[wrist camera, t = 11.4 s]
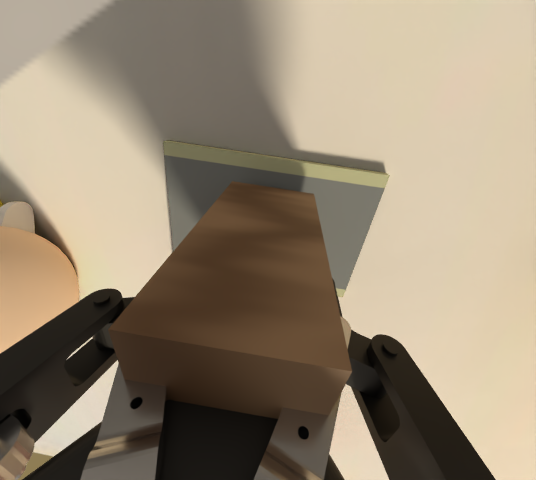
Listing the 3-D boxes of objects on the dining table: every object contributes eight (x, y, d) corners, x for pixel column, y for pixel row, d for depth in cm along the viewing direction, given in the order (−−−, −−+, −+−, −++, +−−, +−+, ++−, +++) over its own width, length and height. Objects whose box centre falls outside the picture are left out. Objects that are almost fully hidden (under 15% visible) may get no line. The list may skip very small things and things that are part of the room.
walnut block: (313, 193, 14) (351, 371, 5) (293, 282, 18) (291, 488, 8) (232, 181, 14) (108, 329, 5) (227, 272, 18) (150, 461, 8)
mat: (386, 173, 15) (389, 175, 14) (341, 292, 20) (342, 297, 19) (167, 140, 15) (163, 141, 15) (178, 265, 20) (174, 270, 20)
